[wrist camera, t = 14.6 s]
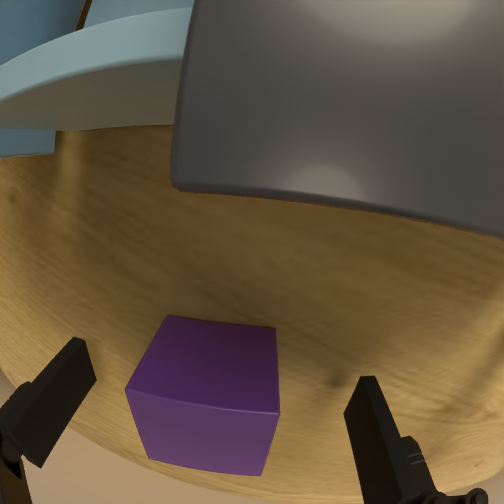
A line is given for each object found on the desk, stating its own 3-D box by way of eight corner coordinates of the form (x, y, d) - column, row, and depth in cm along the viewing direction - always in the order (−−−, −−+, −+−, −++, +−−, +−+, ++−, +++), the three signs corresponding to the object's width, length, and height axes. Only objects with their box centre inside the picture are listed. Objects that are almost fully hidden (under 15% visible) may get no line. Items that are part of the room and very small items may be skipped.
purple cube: (166, 314, 12) (123, 389, 7) (276, 327, 12) (280, 414, 7) (173, 388, 14) (147, 459, 9) (263, 400, 14) (261, 477, 9)
